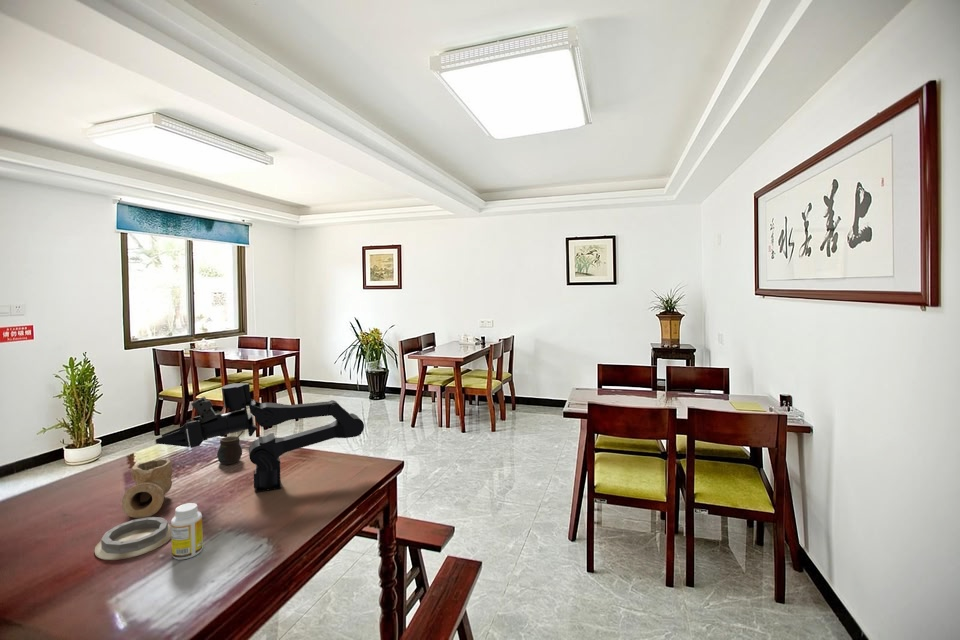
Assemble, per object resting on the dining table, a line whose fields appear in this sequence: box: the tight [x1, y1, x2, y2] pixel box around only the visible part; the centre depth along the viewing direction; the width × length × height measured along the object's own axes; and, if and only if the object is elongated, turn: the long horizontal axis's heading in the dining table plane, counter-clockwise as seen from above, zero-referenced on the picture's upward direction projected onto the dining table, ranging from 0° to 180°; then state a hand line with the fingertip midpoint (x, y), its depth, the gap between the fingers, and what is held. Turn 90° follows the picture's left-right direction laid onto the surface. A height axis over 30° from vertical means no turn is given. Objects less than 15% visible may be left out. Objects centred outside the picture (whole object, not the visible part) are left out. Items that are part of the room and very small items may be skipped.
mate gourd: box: [216, 430, 245, 466], centre depth 146 cm, size 7×8×10 cm
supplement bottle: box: [170, 502, 204, 561], centre depth 95 cm, size 6×6×10 cm
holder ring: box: [94, 516, 172, 561], centre depth 100 cm, size 14×14×3 cm
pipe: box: [121, 458, 173, 519], centre depth 116 cm, size 9×16×10 cm, turn 26°
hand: (159, 439), depth 115 cm, fingers open, 9 cm apart
